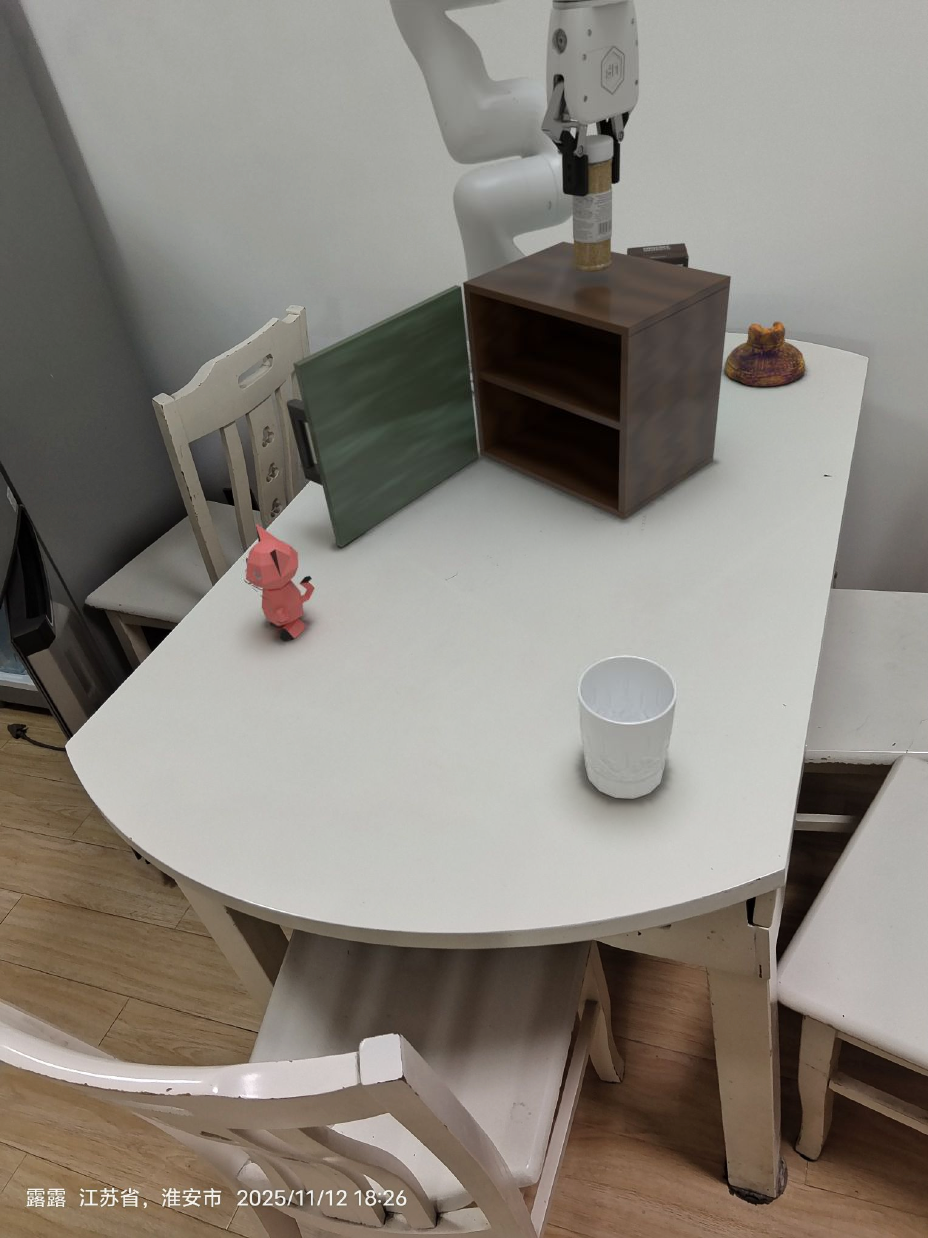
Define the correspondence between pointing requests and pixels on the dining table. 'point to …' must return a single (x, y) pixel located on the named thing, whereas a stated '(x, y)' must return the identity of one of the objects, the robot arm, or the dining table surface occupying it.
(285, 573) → the cat figurine
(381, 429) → the door
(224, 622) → the dining table surface
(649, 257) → the coffee box
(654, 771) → the white cup
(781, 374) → the bell
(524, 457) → the cupboard
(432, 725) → the dining table surface
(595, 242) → the sprinkles bottle
